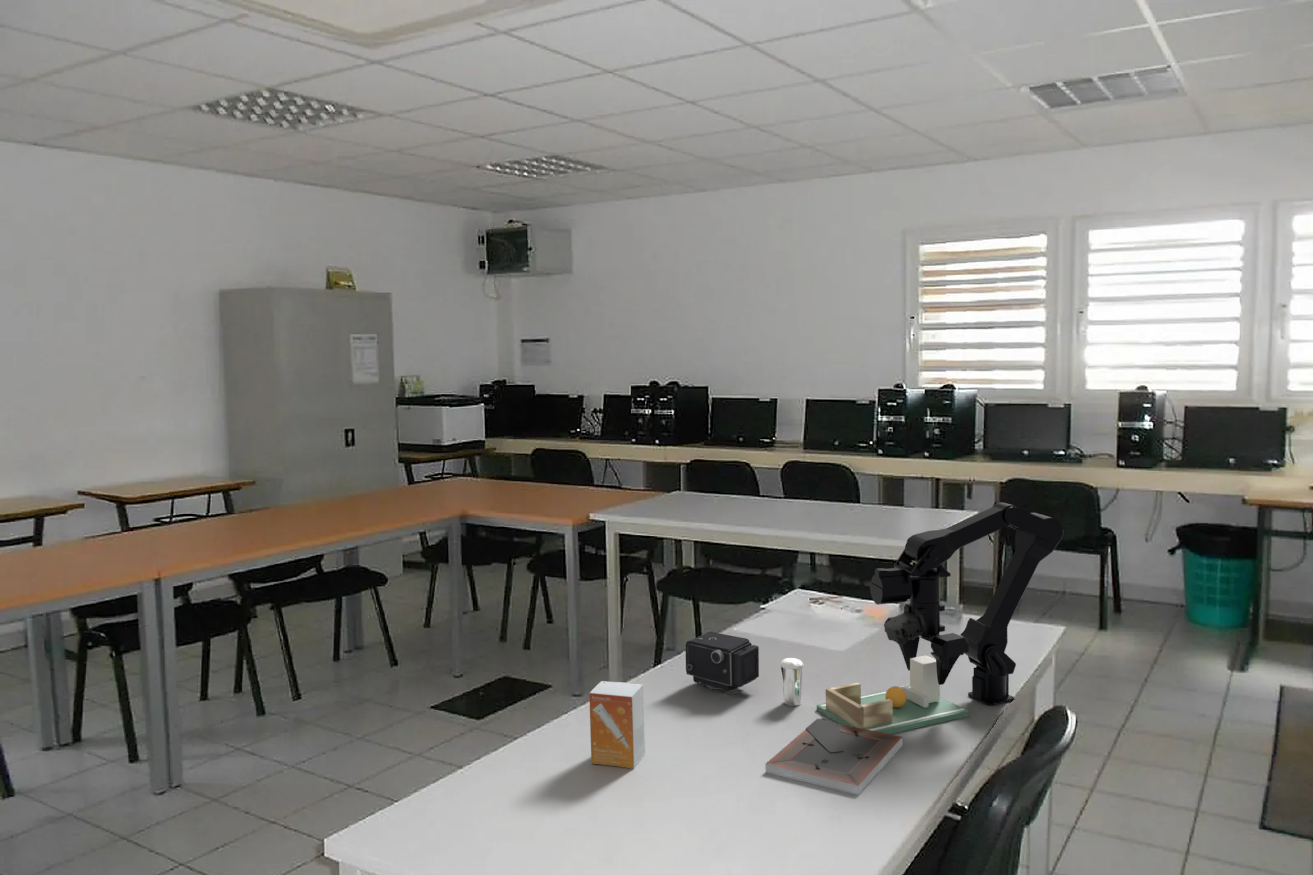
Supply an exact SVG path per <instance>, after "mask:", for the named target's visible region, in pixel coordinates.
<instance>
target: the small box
mask: <svg viewBox="0 0 1313 875" xmlns="http://www.w3.org/2000/svg"><path fill="white" fill-rule="evenodd" d="M588 695H589V723H590V724H589V725H590V726H589V727H590V728H589V729H590V761H591V764H592V765H593V764H594V765H602V766H603V765H604V766H613V767H620V768H628V769H632V770H634V769H635V768H636V767H637V765H639V762H640V761H641V760H642V759H643V757H644V756H645V754H646V743H645V742H646V740H645V739H646V738H645V732H646V731H645V711H644V710H645V705H644V704H645V703H644V701H645V700H644V698H645V697H644V684H642V683H640V684H639V683H628V682H622V681H605V680H601V681H600V682H598V684H597V685H596V686H594V688H592V690H591V691H590V692H589V694H588Z"/></svg>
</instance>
